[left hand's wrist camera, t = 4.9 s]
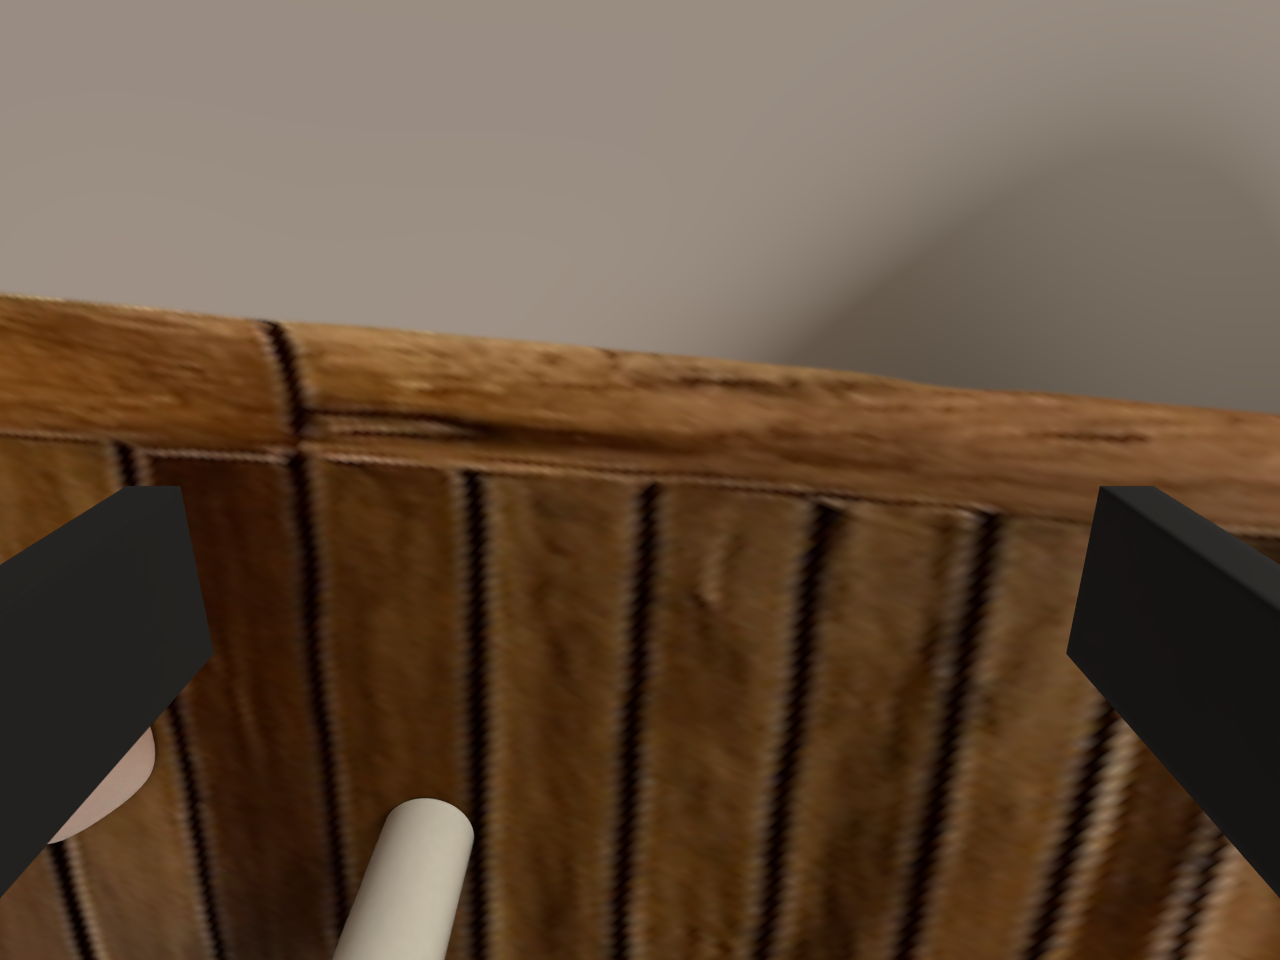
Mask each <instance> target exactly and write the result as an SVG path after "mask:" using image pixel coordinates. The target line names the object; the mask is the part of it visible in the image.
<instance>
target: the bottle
mask: <svg viewBox="0 0 1280 960" xmlns="http://www.w3.org/2000/svg"><path fill="white" fill-rule="evenodd" d="M473 842H474V832H473V829H472V826H471V824H470V822H469V820H468V818H467V817H466V816H465V815H464V814H463V813H462V812H461V811H460V810H459V809H457V808H456V807H454V806H453V805H451V804H449V803H447V802H444V801H441V800H437V799H430V798H420V799H413V800H409V801H407V802H404V803H402V804H400V805H399V806H397V807H396V808H394V809H393V810H392V811H391V812H390V814H389V815H388V816H387V818H386V820H385V822H384V825H383V828H382V830H381V833H380V835H379V838H378V840H377V843H376V846H375V848H374V851H373V853H372V856H371V858H370V861H369V864H368V866H367V869H366V871H365V874H364V876H363V879H362V882H361V884H360V887H359V889H358V892H357V894H356V897H355V900H354V902H353V905H352V907H351V910H350V912H349V915H348V918H347V920H346V923H345V925H344V928H343V930H342V933H341V936H340V938H339V941H338V943H337V946H336V948H335V951H334V954H333V956H332V959H331V960H445V957H446V952H447V948H448V944H449V940H450V936H451V932H452V928H453V924H454V920H455V916H456V912H457V908H458V904H459V900H460V896H461V891H462V887H463V883H464V879H465V875H466V871H467V867H468V863H469V859H470V855H471V851H472V847H473Z"/></svg>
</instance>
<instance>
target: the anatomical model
mask: <svg viewBox="0 0 1280 960" xmlns="http://www.w3.org/2000/svg"><path fill="white" fill-rule="evenodd" d="M154 762H155V745H154V740H153V735H152V731H151V728H150V727H149V728H148V729H147V731H146V732H145V733H144V734H143V735H142V736H141V737H140V739H139V740H138V741H137V742H136V743H135V744H134V745H133V747H132V748H131V749H130V750H129V751H128V752H127V753H126V755H125V756H124V757H123V758H122V759H121V760H120V762H119V763H118V764H117V765H116V766H115V767H114V768H113V770H112V771H111V772H110V773H109V774H108V775H107V776H106V778H105V779H104V780H103V781H102V782H101V783H100V784H99V786H98V787H97V788H96V789H95V790H94V791H93V792H92V794H91V795H90V796H89V797H88V798H87V799H86V800H85V802H84V803H83V804H82V805H81V806H80V807H79V808H78V810H77V811H76V812H75V813H74V814H73V815H72V816H71V818H70V819H69V820H68V821H67V822H66V823H65V824H64V826H63V827H62V828H61V829H60V830H59V831H58V832H57V834H56V835H55V836H54V837H53V838H52V839H51V841H50V842H49V843H48V844H50V843H55V842H58V841H61V840H64V839H66V838H69V837H71V836H73V835H75V834H77V833H79V832H80V831H82V830H84V829H86V828H88V827H89V826H91V825H92V824H94V823H96V822H97V821H99V820H100V819H102V818H103V817H105V816H106V815H107V814H109V813H110V812H112V811H113V810H114V809H116V808H117V807H119V806H120V805H121V804H123V803H124V802H125V801H126V800H127V799H129V798H130V797H131V796H132V795H133V794H134V793H135V792H136V791H137V790H138V789H139V788H140V787H141V786H142V785H143V784H144V783H145V782H146V780H147V779H148V777H149V776H150V774H151V772H152V770H153V766H154Z"/></svg>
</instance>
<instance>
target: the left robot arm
mask: <svg viewBox="0 0 1280 960" xmlns="http://www.w3.org/2000/svg"><path fill="white" fill-rule="evenodd" d="M213 654H214V653H213V648H212V643H211V638H210V633H209V628H208V623H207V618H206V613H205V608H204V603H203V598H202V593H201V588H200V583H199V578H198V573H197V568H196V563H195V558H194V553H193V548H192V543H191V538H190V533H189V528H188V523H187V518H186V513H185V508H184V503H183V498H182V493H181V489H180V486H126V487H124V488H123V489H121V490H119V491H118V492H116V493H115V494H113V495H111V496H110V497H108V498H107V499H105V500H103V501H102V502H100V503H99V504H97V505H95V506H94V507H92V508H91V509H89V510H87V511H86V512H84V513H83V514H81V515H79V516H78V517H76V518H75V519H73V520H71V521H70V522H68V523H66V524H65V525H63V526H62V527H60V528H58V529H57V530H55V531H54V532H52V533H50V534H49V535H47V536H46V537H44V538H42V539H41V540H39V541H38V542H36V543H34V544H33V545H31V546H30V547H28V548H26V549H25V550H23V551H22V552H20V553H18V554H17V555H15V556H14V557H12V558H10V559H9V560H7V561H6V562H4V563H2V564H1V565H0V898H1V897H2V895H3V894H4V893H5V892H6V891H7V890H8V889H9V887H10V886H11V885H12V884H13V883H14V882H15V881H16V879H17V878H18V877H19V876H20V875H21V874H22V873H23V871H24V870H25V869H26V868H27V867H28V866H29V865H30V863H31V862H32V861H33V860H34V859H35V858H36V857H37V855H38V854H39V853H40V852H41V851H42V850H43V849H44V847H45V846H46V845H47V844H48V843H49V842H50V841H51V839H52V838H53V837H54V836H55V835H56V834H57V832H58V831H59V830H60V829H61V828H62V827H63V826H64V824H65V823H66V822H67V821H68V820H69V819H70V818H71V816H72V815H73V814H74V813H75V812H76V811H77V810H78V808H79V807H80V806H81V805H82V804H83V803H84V802H85V800H86V799H87V798H88V797H89V796H90V795H91V794H92V792H93V791H94V790H95V789H96V788H97V787H98V786H99V784H100V783H101V782H102V781H103V780H104V779H105V778H106V776H107V775H108V774H109V773H110V772H111V771H112V770H113V768H114V767H115V766H116V765H117V764H118V763H119V762H120V760H121V759H122V758H123V757H124V756H125V755H126V753H127V752H128V751H129V750H130V749H131V748H132V747H133V745H134V744H135V743H136V742H137V741H138V740H139V739H140V737H141V736H142V735H143V734H144V733H145V732H146V731H147V729H148V728H149V727H150V726H151V725H152V724H153V723H154V721H155V720H156V719H157V718H158V717H159V716H160V715H161V713H162V712H163V711H164V710H165V709H166V708H167V707H168V705H169V704H170V703H171V702H172V701H173V700H174V699H175V697H176V696H177V695H178V694H179V693H180V692H181V691H182V689H183V688H184V687H185V686H186V685H187V684H188V683H189V681H190V680H191V679H192V678H193V677H194V676H195V674H196V673H197V672H198V671H199V670H200V669H201V668H202V666H203V665H204V664H205V663H206V662H207V661H208V660H209V658H210V657H211V656H212V655H213ZM1066 654H1067V655H1068V656H1069V657H1070V658H1071V660H1072V661H1073V662H1074V663H1075V664H1076V665H1077V666H1078V668H1079V669H1080V670H1081V671H1082V672H1083V673H1084V674H1085V676H1086V677H1087V678H1088V679H1089V680H1090V681H1091V683H1092V684H1093V685H1094V686H1095V687H1096V688H1097V689H1098V691H1099V692H1100V693H1101V694H1102V695H1103V696H1104V697H1105V699H1106V700H1107V701H1108V702H1109V703H1110V704H1111V705H1112V707H1113V708H1114V709H1115V710H1116V711H1117V712H1118V713H1119V715H1120V716H1121V717H1122V718H1123V719H1124V720H1125V721H1126V723H1127V724H1128V725H1129V726H1130V727H1131V728H1132V729H1133V731H1134V732H1135V733H1136V734H1137V735H1138V736H1139V737H1140V739H1141V740H1142V741H1143V742H1144V743H1145V744H1146V745H1147V747H1148V748H1149V749H1150V750H1151V751H1152V752H1153V753H1154V755H1155V756H1156V757H1157V758H1158V759H1159V760H1160V762H1161V763H1162V764H1163V765H1164V766H1165V767H1166V768H1167V770H1168V771H1169V772H1170V773H1171V774H1172V775H1173V776H1174V778H1175V779H1176V780H1177V781H1178V782H1179V783H1180V784H1181V786H1182V787H1183V788H1184V789H1185V790H1186V791H1187V792H1188V794H1189V795H1190V796H1191V797H1192V798H1193V799H1194V800H1195V802H1196V803H1197V804H1198V805H1199V806H1200V807H1201V808H1202V810H1203V811H1204V812H1205V813H1206V814H1207V815H1208V816H1209V818H1210V819H1211V820H1212V821H1213V822H1214V823H1215V824H1216V826H1217V827H1218V828H1219V829H1220V830H1221V831H1222V832H1223V834H1224V835H1225V836H1226V837H1227V838H1228V839H1229V841H1230V842H1231V843H1232V844H1233V845H1234V846H1235V847H1236V849H1237V850H1238V851H1239V852H1240V853H1241V854H1242V855H1243V857H1244V858H1245V859H1246V860H1247V861H1248V862H1249V863H1250V865H1251V866H1252V867H1253V868H1254V869H1255V870H1256V871H1257V873H1258V874H1259V875H1260V876H1261V877H1262V878H1263V879H1264V881H1265V882H1266V883H1267V884H1268V885H1269V886H1270V887H1271V889H1272V890H1273V891H1274V892H1275V893H1276V894H1277V895H1278V897H1279V898H1280V565H1279V564H1278V563H1276V562H1274V561H1273V560H1271V559H1270V558H1268V557H1266V556H1265V555H1263V554H1262V553H1260V552H1258V551H1257V550H1255V549H1254V548H1252V547H1250V546H1249V545H1247V544H1246V543H1244V542H1242V541H1241V540H1239V539H1238V538H1236V537H1234V536H1233V535H1231V534H1230V533H1228V532H1226V531H1225V530H1223V529H1222V528H1220V527H1218V526H1217V525H1215V524H1214V523H1212V522H1210V521H1209V520H1207V519H1205V518H1204V517H1202V516H1201V515H1199V514H1197V513H1196V512H1194V511H1193V510H1191V509H1189V508H1188V507H1186V506H1185V505H1183V504H1181V503H1180V502H1178V501H1177V500H1175V499H1173V498H1172V497H1170V496H1169V495H1167V494H1165V493H1164V492H1162V491H1161V490H1159V489H1157V488H1156V487H1154V486H1100V489H1099V493H1098V498H1097V503H1096V508H1095V513H1094V518H1093V523H1092V528H1091V533H1090V538H1089V543H1088V548H1087V553H1086V558H1085V563H1084V568H1083V573H1082V578H1081V583H1080V588H1079V593H1078V598H1077V603H1076V608H1075V613H1074V618H1073V623H1072V628H1071V633H1070V638H1069V643H1068V648H1067V653H1066Z"/></svg>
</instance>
